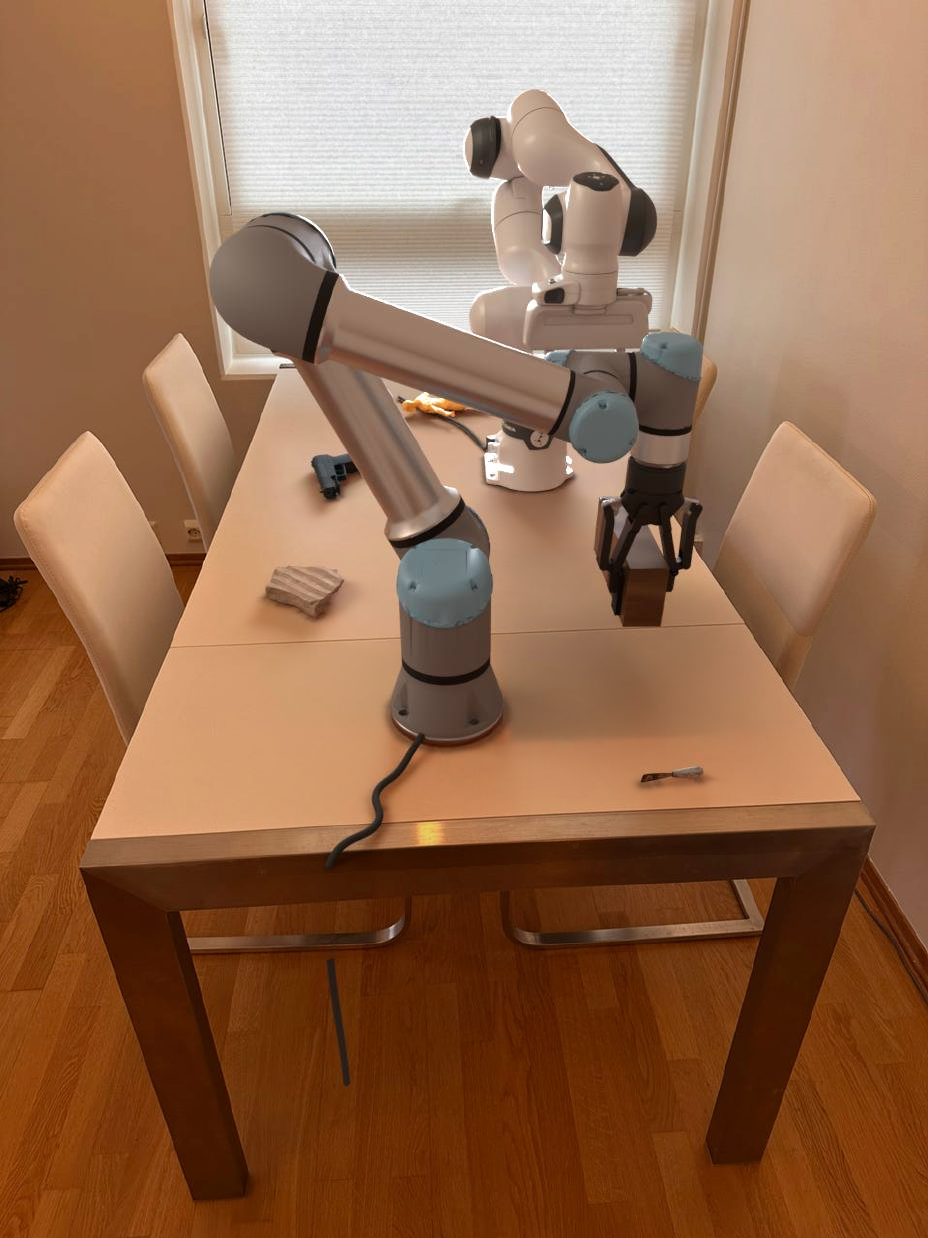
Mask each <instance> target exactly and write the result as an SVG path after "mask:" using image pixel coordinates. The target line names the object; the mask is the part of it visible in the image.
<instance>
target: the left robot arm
mask: <svg viewBox="0 0 928 1238" xmlns="http://www.w3.org/2000/svg"><path fill="white" fill-rule="evenodd" d="M208 274H209V275H208V277H209V278H208V279H209V280H208V285H209V293H210V296H211V299H212V302H213V305H214V307H215V309H216V312H217V313H218V314H219V317H221V319H222V320H223V321H224V323H226V325H227V326H228V327H230V328H231V329H232V330H233V331H234V332H235V333H237V334H238V335H240V336H241V337H242V338H244V339H246V340H247V341H250V342H252V343H254V344H256V345H259V346H261V347H264V348H265V349H268V350H269V351H270V352H271V353H272V355H273V356H275V357H280V358H283V359H286V360H289V361H291V362H292V364H293V366H294V367H295V369H296V371H297V372H298V374H299V375H300V377H301V379H302V380H303V382H304V384H305V385H306V387H307V389H308V391H310V394H311V395H312V397H313V398H314V400H315V401H316V403H317V405H318V407H319V408H320V409H321V410H320V411H322V413H323V415H324V416H325V418H326V419H327V422H328V423H329V425H330V426H331V428H332V429H333V431H334V433H335V434H336V435H337V438H338V439H339V441H340V443H341V444H342V446H343V447H344V449H345V451H346V452H347V453H348V454H349V456H350V457H351V459H352V461H353V462H354V464H355V465H356V467H357V469H358V470H359V472H358V473H359V474H360V476H362V478H363V479H362V480H364V482H365V483H366V485H367V487H368V489H369V490H370V492H371V494H372V495H373V496H374V499H375V500H376V502H377V504H379V507H380V508H381V510H382V511H383V513H384V515H385V517H386V518H387V519H386V522H385V526H384V530H383V534H384V535H385V538H386V539H387V541H388V542H389V544H390V546H391V547H392V549H393V551H394V552H395V554H396V555H397V557H398V559H399V560H400V562H399V565H398V568H397V575H396V581H395V589H396V594H397V598H398V611H399V612H398V613H399V615H398V616H399V630H400V631H399V632H400V634H399V635H400V655H401V667H400V669H399V672H398V675H397V678H396V681H395V684H394V687H393V690H392V693H391V696H390V704H389V705H390V718H391V721H392V724H393V725H394V727H395V728H396V729H397V731H398V732H399V733H400V734H402V735H403V736H404V737H406V738H407V739H409V740H411V741H412V743H411V744H410V746H409V747H408V749H407V751H406V753H405V754H404V756H403V757H402V759H401V760H400V762H399V764H398V766H397V767H396V768H395V769H394V770H393V771H392V772H391V773H390V774H388V775H387V776H386V777H384V778H382V780H380V781H379V782H378V783H377V784H376V786H375V787H374V789H373V791H372V794H371V803H372V807H373V810H374V814H375V818H374V819H373V821H372V822H371V824H370V825H368V826H367V827H366V828H364V829H362V830H359V831H357V832H355V833H353V834H351V835H348V836H347V837H345V838H344V839H342V840H341V841H340V842H338V843H337V845H335V846H334V847H333V849H332V850H331V852H330V854H329V856H328V858H327V859H326V861H325V867H326V869H331V868H333V867H335V865H336V862H337V860H338V858H339V857H340V856H341V854H342V853H343V852H344V851H345V850H346V849H347V848H348V847H350V846H352V845H353V844H355V843H357V842H359V841H361V840H364V839H366V838H369V836H371V835H373V834H374V833H376V832H377V831H378V830H379V828H380V827H381V826H382V824H383V822H384V816H385V815H384V807H383V805H382V802H381V797H380V796H381V794H382V792H383V791H384V790H385V789H386V788H387V787H388V786H389V785H391V784H392V783H394V782H395V781H396V780H398V778H400V777H401V775H402V774H403V773H404V772H405V770H406V768H407V767H408V765H409V764H410V762H411V760H412V759H413V757H414V755H415V754H416V752H417V751H418V750H419V747H420V746H421V745H425V746H430V747H437V748H454V747H455V748H457V747H463V746H467V745H471V744H473V743H476V742H480V741H481V740H483V739H485V738H486V737H488V736H489V735H491V734H492V733H493V732H494V731H495V730H496V729H498V727H499V726H500V724H501V722H502V720H503V717H504V697H503V693H502V690H501V687H500V685H499V682H498V679H497V677H496V674H495V672H494V668H493V666H492V664H491V654H492V653H491V651H492V649H491V648H492V647H491V645H492V595H493V589H494V578H493V573H492V569H491V563H490V556H491V541H490V536H489V532H488V530H487V527H486V526H485V523H484V521H483V519H482V517H481V516H480V515H479V514H478V513H477V512H476V510H475V509H473V508H472V507H470V506H469V505H468V504H466V501H464V499H463V497H462V495H461V493H460V492H459V491H458V489H456V488H454V487H450V486H445V485H443V483H441V481H440V479H439V477H438V475H437V474H436V472H435V470H434V468H433V466H432V464H431V463H430V460H429V459H428V458H427V456H426V454H425V452H424V450H423V448H422V447H421V445H420V444H419V441H418V440H417V438H416V436H415V434H414V432H413V430H412V429H411V427H410V426H409V424H408V422H407V420H406V419H405V417H404V415H403V413H402V411H401V409H400V408H399V406H398V404H397V402H396V401H395V399H394V397H393V395H392V393H391V392H390V390H389V388H388V386H387V385H386V383H385V381H384V379H385V380H388V381H391V382H393V383H396V384H400V385H402V386H405V387H408V388H411V389H414V390H417V391H419V392H422V393H428V394H429V395H432V396H434V397H437V398H438V399H441V398H442V399H445V400H448V401H451V402H454V403H457V404H460V405H463V406H466V407H467V408H468V409H472V410H473V411H478V412H480V413H483V414H485V415H489V416H492V417H494V418H498V419H500V420H502V419H503V420H506V421H509V422H512V423H515V424H518V425H520V426H523V427H526V428H529V429H532V430H535V431H538V432H541V433H544V434H546V435H549V436H552V437H555V438H557V439H560V440H563V441H566V442H567V443H569V444H571V447H572V448H573V450H574V451H575V452H577V454H578V455H579V456H580V457H582V459H584V460H586V461H588V462H590V463H593V464H600V465H601V464H610V463H614V462H617V461H619V460H621V459H622V458H624V457H625V456H627V455H628V453H629V454H630V455H629V457H628V458H627V465H626V475H625V480H624V481H625V482H624V487H623V490H622V491H621V493H620V495H619V496H617V497H618V498H615V499H611V500H608V499H607V498H603V499H601V501H600V504H601V509H602V513H603V516H602V523H601V530H600V536H599V543H598V550H597V557H595V560H596V563H597V566H598V569H599V570H600V571H601V572H602V571H605V570H606V571H608V578H607V584H606V587H607V590H608V592H609V594H610V593H613V594H612V597H611V602H610V603H611V604H610V607H611V609H612V612H613V616H615V617H617V616H618V617H619V616H620V610H621V602H622V594H623V586H624V578H625V575H624V572H623V570H622V566H623V564H624V562H625V560H626V557H627V555H628V553H629V551H630V548H631V546H632V544H633V541H634V539H635V537H636V535H637V533H639V531H640V529H641V527H642V526H646V525H648V526H650V525H652V526H654V527H655V526H656V527H657V526H658V532H659V536H660V543H661V544H660V545H661V549H662V554H663V556H664V558H665V560H666V562H667V564H668V566H669V568H670V570H669V577H668V583H667V589H666V593H672V592H673V590H674V586H675V580H676V577H678V575H679V574H680V571H682V570H684V571H687V570H689V569H691V566H692V560H693V553H694V545H695V539H696V538H695V536H696V530H697V529H696V528H697V523H698V520H699V517H700V516H701V514H702V512H703V509H704V507H703V505H702V503H701V502H700V501H699V499H698V497H695V496H694V497H691V498H690V497H686V496H685V495H684V492H683V489H684V484H685V478H686V472H687V462H686V461H687V460H688V458H689V453H690V447H691V446H690V445H691V438H692V432H693V424H694V417H695V413H696V412H695V411H696V405H697V400H698V395H699V388H700V385H701V381H702V371H703V369H702V368H703V359H704V358H703V357H704V347H703V344H702V343H701V341H700V340H699V339H698V338H697V337H695V336H693V335H690V334H687V333H683V332H682V333H681V332H675V331H660V332H652V333H649V335H647V336H646V337H645V338H644V339H643V341H642V346H641V347H640V348H639V351H625V352H615V351H595V350H594V351H593V350H592V351H590V350H577V349H573V350H555V351H554V352H549V353H548V354H546V355H545V354H544V357H543V358H541V357H538V356H536V355H534V354H533V355H531V354H528V353H525V352H522V351H520V350H517V349H514V348H511V347H509V346H506V345H503V344H500V343H498V342H495V341H492V340H490V339H487V338H484V337H481V336H479V335H476V334H473V333H472V332H470V331H467V330H465V329H462V328H459V327H457V326H453V325H451V324H448V323H446V322H443V321H440V320H437V319H435V318H432V317H429V316H427V315H423V314H421V313H419V312H415V311H412V310H410V309H407V308H404V307H401V306H399V305H396V304H393V303H390V302H388V301H386V300H382V299H379V298H377V297H374V296H371V295H369V294H366V293H363V292H361V291H358V290H355V289H352V288H351V287H350V285H349V284H348V282H347V280H346V278H345V276H344V275H343V274H341V273H338V271H337V260H336V255H335V253H334V250H333V247H332V245H331V243H330V241H329V239H328V238H327V236H326V234H325V233H324V231H322V229H320V227H319V226H318V225H316V223H314V222H313V221H311V220H310V219H308V218H306V217H304V216H302V215H299V214H297V213H293V212H287V211H275V212H268V213H263V214H262V215H259V216H257V217H254V218H252V219H251V220H250V221H249V222H247V223H245V224H244V225H243V226H241V228H239V230H237V231H236V232H234V233H233V234H231V235H230V236H229V237H227V238H226V239H225V240H223V242H222V243H221V245H220V246H219V247H218V249H217V250H216V252H215V253H214V255H213V258H212V261H211V264H210V267H209V273H208ZM622 506H623V507H624V509H625V510H626V512H627V513H628V515H627V517H626V520H625V525H624V527H623V530H622V532H621V534H620V537H619V539H618V541H617V544H616V546H615V548H614V551H613V553H612V555H611V558H610V559H609V557H610V550H611V544H612V538H613V531H614V525H615V518H614V516H617V514H618V513H619V508H620V507H622ZM680 509H681V511H682V512H683V514H682V520H681V528H680V529H681V530H680V537H679V546H678V553H677V557H676V551H675V550H676V549H675V544H674V540H673V528H672V522H671V521H672V520H671V518H672V517H673V516H674V515H676V513H677V512H678V511H679V510H680ZM664 608H665V607H664ZM664 608H663V610H664ZM335 959H336V958H334V957H332V958H328V959H326V969H327V979H328V986H329V993H330V1002H331V1007H332V1008H331V1009H332V1014H333V1020H334V1027H335V1034H336V1039H337V1045H338V1052H339V1060H340V1066H341V1076H342V1084H343V1085H344V1087H348V1086H350V1084H351V1075H350V1074H351V1073H350V1064H349V1057H348V1050H347V1042H346V1036H345V1030H344V1023H343V1016H342V1011H341V1010H342V1008H341V1003H340V996H339V995H340V994H339V988H338V980H337V970H336V960H335Z"/></svg>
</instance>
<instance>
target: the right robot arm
mask: <svg viewBox="0 0 928 1238" xmlns="http://www.w3.org/2000/svg"><path fill="white" fill-rule="evenodd" d="M462 148H463V149H462V151H463V158H464V161H465V162H464V163H465V165H466V169H467V171H468V172H469V173H470V175H471V176H472V177H475V178H477V179H481V180H485V181H486V180H487V181H488V180H489V179H493V180H499V181H502V182H501V183H499V185H497V187H496V188H495V190H494V192H493V194H492V199H491V200H492V201H491V227H492V235H493V242H494V248H495V254H496V260H497V266H498V269H499V272H500V274H501V275H502V276H503V277H504V279H506V280H507V282H509V283H510V284H512V285H514V286H501V287H497V288H493V289H489V290H484V291H481V292H479V293H477V295H476V296H475V297H474V299H473V301H472V303H471V305H470V307H469V313H468V322H469V323H468V324H469V327H470V330H471V333H473V334H476V335H479V336H481V337H484V338H487V339H490V340H492V341H495V342H498V343H500V344H503V345H506V346H509V347H511V348H514V349H517V350H520V351H522V352H525V353H528V354H531V355H533V356H534V351H543V354H544V356H545V355H546V354H548V353H549V352H555V351H569V350H613V352H626V349H640V347H641V346H642V341H643V339H644V338H645V337H646V336H647V335H649V334H650V329H649V328H650V325H649V315H650V314H651V311H652V309H653V295H652V294H651V292H650V291H648V290H647V289H645V288H644V287H634V288H632V287H618V279H619V269H620V268H619V260H618V257H633V258H635V257H637V256H638V255H640V254H641V253H642V252H643V251H644V250H646V249H647V247H648V246H649V245H650V244H651V242H652V241H653V240H654V239H655V236H656V233H657V226H658V215H657V209H656V205H655V203H654V201H653V200H652V199H651V197H650V195H649V194H648V193H647V192H646V191H645V190H644V189H642V188H640V187H638V186H636V185H635V184H634V183H633V181H632V180H631V179H630V178H629V176H627V174H626V173H625V172H624V171H623V169H622V168H621V167H620V166H619V164H618V163H617V162H616V161H615V159H614V158H613V157H612V156H611V155H610V154H609V152H608V151H606V149H605V148H603V147H602V146H600V145H599V144H597V143H596V142H594V141H592V140H591V139H589V138H588V137H586V136H585V135H583V134H582V133H581V132H580V131H579V130H578V129H577V128H575V127H574V126H573V124H572V122H570V121H569V118H568V117H567V115H566V113H565V111H564V110H563V108H562V106H561V105H560V104H559V103H558V101H556V99H554V97H552V96H551V95H550V94H549V92H546V91H544V90H542V89H538V88H531V89H527V90H524V91H522V92H521V93H519V94H518V95H517V96H515V98H514V99H513V100H512V101H511V104H510V105H509V107H508V110H507V115H506V116H494V115H488V116H485V117H480V118H478V119H474V120H473V121H472V122H471V123H470V124H469V126H468V127H467V129H466V133H465V137H464V139H463V145H462ZM545 187H546V188H547V189H548V190H549V191H553V190H555V189H556V188H558V189H559V188H560V189H566V190H564V191H562V192H560V193H555V194H553V195H552V197H550V198H549V199H548V201H547V202H546V203H545V204H544V198H543V196H544V190H545V189H544V188H545ZM558 256H560V257H563V261H562V262H560V260H559V258H558ZM397 399H398V400H400V401H402V402H404V401H406V400H407V399H406V398H405V397H402V396H400V395H397ZM416 409H419V410H421V409H420V408H418V407H416ZM430 414H432V415H435V416H437V417H440V418H442V419H444V420H447V421H449V422H451V423H453V424H455V425H457V426H459V427H460V428H462V429H464V430H465V431H466V432H468V434H469V435H470V436H471V437H472V438H473V439H474V440H475V441H476V442H477V444H478V446H479V447H480V448H481V449H483V450H484V451H486V450H487V452H485V454H484V458H483V459H484V460H483V462H484V472H485V473H484V474H485V482H486V484H490V485H495V486H501V487H504V488H507V489H510V490H513V491H514V490H515V491H519V492H544V491H549V490H552V489H555V488H558V487H560V486H561V485H562V484H564V482H565V481H566V480H567V479H570V478H572V477H573V476H574V470H573V469H572V468H571V467H569V466H568V464H572V459H571V458H570V457H569V456H568V442H566V441H563V440H560V439H557V438H555V437H552V436H549V435H546V434H544V433H541V432H538V431H535V430H532V429H529V428H526V427H523V426H520V425H518V424H515V423H512V422H509V421H506V420H503V419H501V429H500V431H498V433H496V434H492V435H486V438H485V445H484V444H483V442H481V440H480V438H479V437H478V436H477V435H476V434H475V433H474V432H473V431H472V430H471V429H470V428H469V427H467V426H466V425H464V424H463V423H461V422H460V421H458V420H456V419H454V418H452V417H451V416H450V417H449V416H445V415H443V414H439V413H432V412H431V413H430Z"/></svg>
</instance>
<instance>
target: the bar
mask: <svg viewBox="0 0 928 1238" xmlns="http://www.w3.org/2000/svg"><path fill="white" fill-rule="evenodd" d="M618 497H619V496H599V497H598V505H597V515H596V523H595V524H596V525H595V533H594V542H593V551H594V552H593V553H594V555H595V556H596V557H597V550H598V543H599V536H600V530H601V523H602V516H603V513H602V509H601V504H600V501H601V499H603V498H607V499H608V500H611V499H615V498H618ZM627 515H628V513H627V512H626V510H625V509H624V507H623V506H622V507H620V508H619V513H618V514H617V516H614V518H615V525H614V531H613V538H612V544H611V550H610V557H609V559H610V558H611V555H612V553H613V551H614V548H615V546H616V544H617V541H618V539H619V537H620V534H621V532H622V530H623V527H624V525H625V520H626V517H627ZM596 557H595V558H596ZM622 570H623V572H624V575H625V578H624V586H623V594H622V602H621V610H620V616H618V619H619V621H620V623H621V626H622V628H654V627H655V628H657V627H659V628H660V627H662V621H663V615H664V609H663V608H665V603H666V596H667V592H666V589H667V583H668V577H669V570H670V568H669V566H668V564H667V562H666V560H665V558H664V556H663V551H661V548H660V546H659V544H658V542H657V541H656V538H655V537H654V535H653V532H652V531H651V529H650V527H649V525H646V526H642V527H641V529H640V531H639V533H637V535H636V537H635V539H634V541H633V544H632V546H631V548H630V551H629V553H628V555H627V557H626V560H625V562H624V564H623V566H622ZM601 573H602V575H603V578H604V582H605V584H606V585H607V578H608V571H606V570H605V571H602V570H601ZM612 594H613V593H609V595H610V597H611V598H612Z"/></svg>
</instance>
